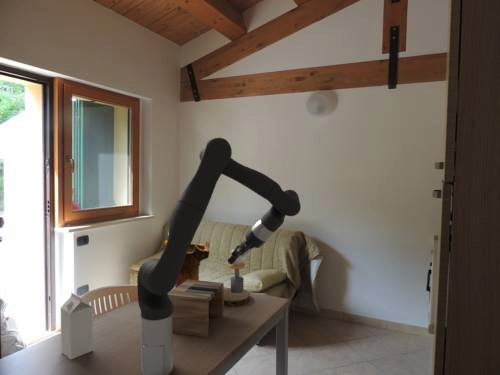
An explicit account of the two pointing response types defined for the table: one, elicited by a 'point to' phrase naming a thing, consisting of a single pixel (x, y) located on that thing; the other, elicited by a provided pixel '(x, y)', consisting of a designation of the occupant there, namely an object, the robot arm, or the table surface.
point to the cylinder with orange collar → (237, 276)
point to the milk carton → (76, 327)
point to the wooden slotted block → (196, 306)
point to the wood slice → (235, 298)
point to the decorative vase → (192, 262)
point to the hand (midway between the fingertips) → (232, 260)
